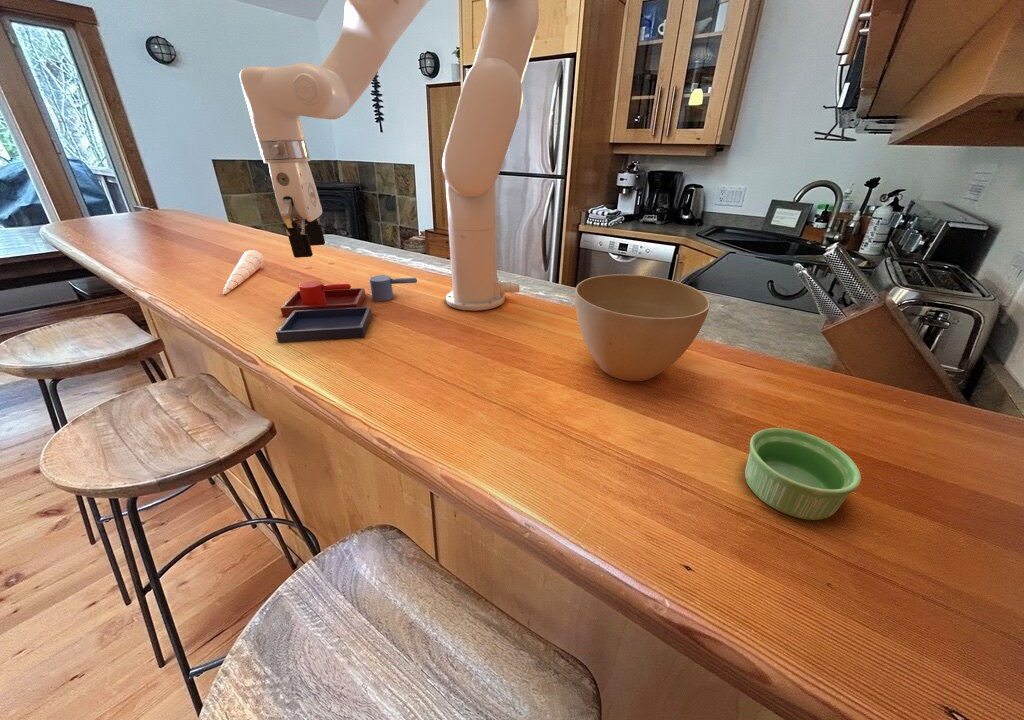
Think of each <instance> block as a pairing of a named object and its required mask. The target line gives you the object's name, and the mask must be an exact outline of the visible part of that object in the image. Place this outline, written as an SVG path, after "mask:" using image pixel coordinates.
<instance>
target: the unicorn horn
mask: <svg viewBox="0 0 1024 720" xmlns="http://www.w3.org/2000/svg"><path fill="white" fill-rule="evenodd" d="M264 265H265V259H264V256H263V254H261V252H259V251H257V250H254V249H251V250H250V249H249V250H247V251H245V252H244V253H243V254H242V256H241V257H240V259H239V261H238V262H237V264H236V266H235V267H234V269H233V271H232V272H231V274H230V276H229V278H228V279H227V281H226V284H225V285H224V287H223V291H222V294H223V295H226V294H228V293H230V292H231V291H232V290H234V289H235V288H237V287H238V286H239V285H241V284H242V283H243V282H245V281H246V280H247V279H248V278H249V277H251V276H252V275H254V273H256V271H258V270H259V269H260V268H262V267H263V266H264Z"/></svg>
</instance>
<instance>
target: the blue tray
mask: <svg viewBox="0 0 1024 720" xmlns="http://www.w3.org/2000/svg"><path fill="white" fill-rule="evenodd" d="M372 318H373V313H372V307H371V306H361V307H357V308H337V309H317V310H297V311H293V312H292V314H291V315H290V316H289V317H286V319H285V320H284V322H283V323H282V324H281V325H280V327H279V328H278V329H277V330H276V331H275V335H276V339H277V343H294V342H309V341H311V342H312V341H326V340H327V341H328V340H342V339H359V338H365V336H366V333H367V330H368V328H369V325H370V322H371V319H372Z"/></svg>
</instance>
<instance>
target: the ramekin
mask: <svg viewBox="0 0 1024 720" xmlns="http://www.w3.org/2000/svg"><path fill="white" fill-rule="evenodd" d="M748 453H749V454H748V456H747V457H748V458H747V460H746V461H747V462H746V465H745V471H744V476H745V481H746V484H747V486H748V487H749V488H750V490H751V491H752V492H753V493H754V494H755V495H756V496H757V497H758V499H760V501H762V502H764V503H765V504H766V505H767V506H769V507H771V508H773V509H775V510H776V511H778V512H780V513H783V514H785V515H788V516H790V517H793V518H797V519H802V520H807V521H808V520H809V521H818V520H819V521H820V520H824V519H828V518H830V517H832V516H833V515H834V514H836V512H837V511H838V510H839V509H840V507H841V506H842V505H843V503H844V502H845V500H846V499H847V498H848V497H849V495H850V494H853V492H854V491H855V490H856V489H857V488H858V487H859V486H860V484H861V481H862V475H861V471H860V469H859V467H858V466H857V464H856V463H855V462H854V460H853V459H852V458H851V457H850V456H849V455H848V454H846V453H845V451H843V450H842V449H840V448H839V447H837V446H835V445H834V444H833V443H831V442H828V441H827V440H826V439H823V438H821V437H818V436H816V435H813V434H811V433H808V432H804V431H801V430H797V429H792V428H786V427H785V428H784V427H770V428H764V429H760V430H758V431H757V432H755V433H754V434H753V435H752V436H751V438H750V442H749V452H748Z"/></svg>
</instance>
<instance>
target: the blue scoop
mask: <svg viewBox="0 0 1024 720" xmlns="http://www.w3.org/2000/svg"><path fill="white" fill-rule="evenodd" d="M417 282H418V279H417V278H416V277H401V278H399V277H398V278H392V277H391V276H390V275H383V274H382V275H381V274H380V275H374V276H372V277H369V285H370V291H371V292H370V293H371V297H372V300H373V301H376V302H385V301H389V300H392V299H393V298H394V291H393V285H398V284H401V285H403V284H416V283H417Z"/></svg>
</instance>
